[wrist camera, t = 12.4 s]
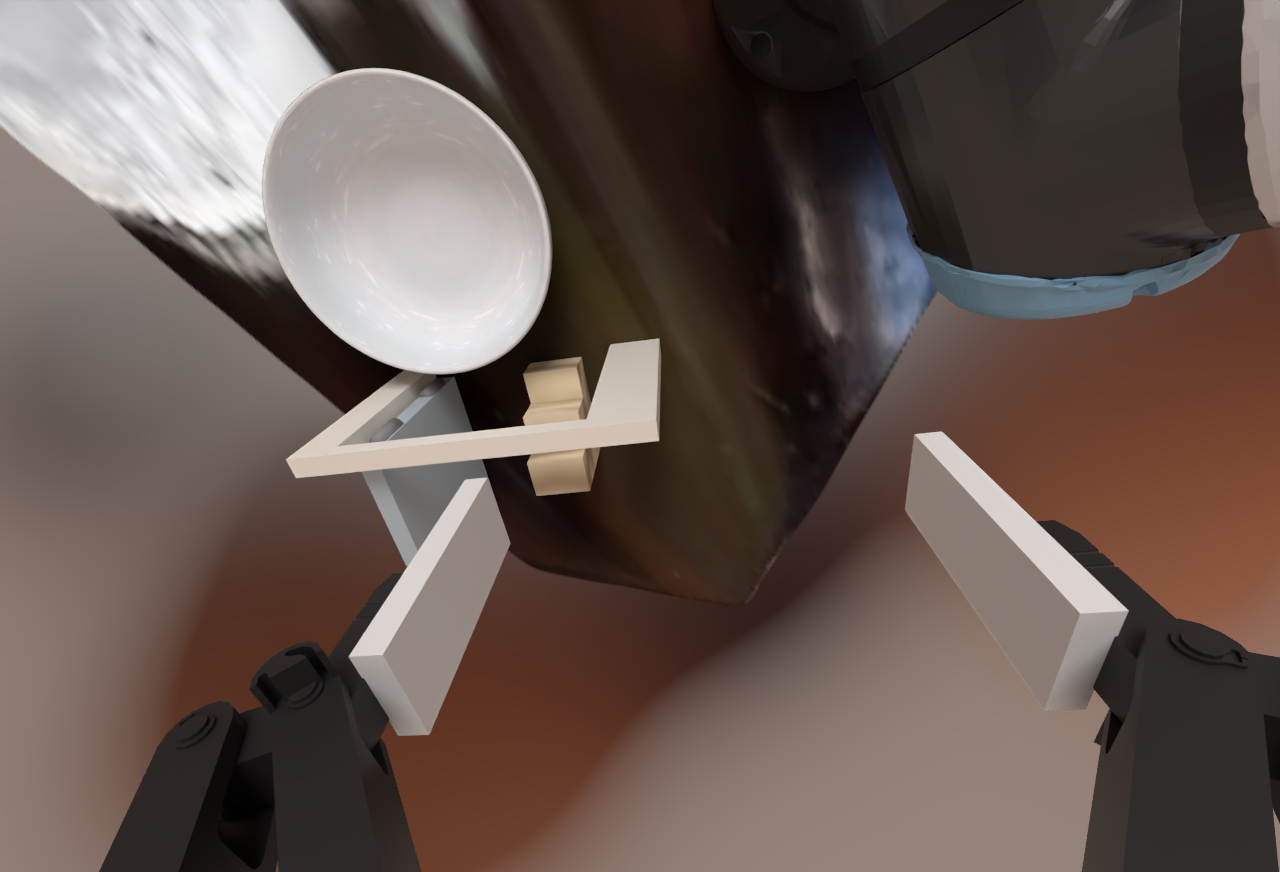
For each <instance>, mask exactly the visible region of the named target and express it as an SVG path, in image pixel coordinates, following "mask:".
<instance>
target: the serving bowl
mask: <svg viewBox="0 0 1280 872" xmlns="http://www.w3.org/2000/svg"><path fill="white" fill-rule="evenodd" d="M262 197H263V207H264V213H265V219H266V223H267V228H268V231H269V235H270V238H271V241H272V244H273V247H274V250H275V252H276V255H277V257H278V259H279V261H280V263H281V266H282V268H283V270H284V271H285V273H286V275H287V277H288V279H289V280H290V282H291V284H292V285H293V287H294V288H295V290H296V291H297V293H298V294H299V295H300V297H301V298H302V300H303V301H304V302H305V303H306V305H307V306H308V307H309V308H310V309H311V311H312V312H313V313H314V314H315V315H316V316H317V317H318V318H319V319H320V320H321V321H322V322H323V323H324V324H325V325H326V326H327V327H328V328H329V329H330V330H331V331H333V332H334V333H335V334H336V335H337V336H339V337H340V338H341V339H343V340H344V341H345V342H347V343H348V344H349V345H351V346H353V347H354V348H356V349H357V350H359V351H361V352H363V353H364V354H366V355H368V356H370V357H372V358H374V359H376V360H378V361H380V362H383V363H385V364H388V365H390V366H393V367H396V368H399V369H403V370H407V371H412V372H417V373H424V374H454V373H461V372H466V371H471V370H474V369H477V368H480V367H482V366H485V365H487V364H489V363H491V362H493V361H495V360H497V359H499V358H500V357H502V356H503V355H505V354H506V353H508V352H509V351H510V350H511V349H513V348H514V347H515V346H516V345H517V344H518V343H519V342H520V341H521V340H522V338H523V337H524V336H525V335H526V334H527V333H528V331H529V330H530V328H531V327H532V325H533V324H534V322H535V320H536V319H537V317H538V315H539V313H540V311H541V308H542V306H543V303H544V301H545V298H546V294H547V291H548V287H549V282H550V276H551V269H552V235H551V227H550V221H549V217H548V212H547V209H546V205H545V202H544V199H543V196H542V193H541V191H540V188H539V186H538V183H537V181H536V179H535V177H534V175H533V173H532V171H531V169H530V167H529V166H528V164H527V162H526V161H525V159H524V157H523V156H522V154H521V153H520V152H519V150H518V149H517V147H516V146H515V145H514V143H513V142H512V141H511V140H510V138H509V137H508V136H507V135H506V134H505V133H504V132H503V130H502V129H501V128H500V127H499V126H498V125H497V124H496V123H495V122H494V121H493V120H492V119H491V118H489V117H488V116H487V115H486V114H485V113H484V112H483V111H482V110H480V109H479V108H478V107H476V106H475V105H474V104H473V103H471V102H470V101H468V100H467V99H466V98H464V97H463V96H461V95H459V94H458V93H456V92H454V91H453V90H451V89H449V88H447V87H445V86H443V85H442V84H439V83H437V82H435V81H433V80H430V79H428V78H425V77H422V76H419V75H415V74H412V73H409V72H405V71H399V70H393V69H384V68H364V69H355V70H349V71H345V72H341V73H338V74H335V75H332V76H329V77H327V78H325V79H323V80H321V81H319V82H317V83H315V84H314V85H312V86H311V87H309V88H308V89H306V90H305V91H304V92H303V93H301V94H300V95H299V96H298V97H297V98H296V99H295V100H294V101H293V102H292V103H291V104H290V106H289V107H288V108H287V109H286V111H285V112H284V113H283V115H282V116H281V118H280V120H279V121H278V123H277V125H276V127H275V129H274V131H273V133H272V136H271V138H270V141H269V144H268V147H267V151H266V155H265V159H264V165H263V178H262Z"/></svg>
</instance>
